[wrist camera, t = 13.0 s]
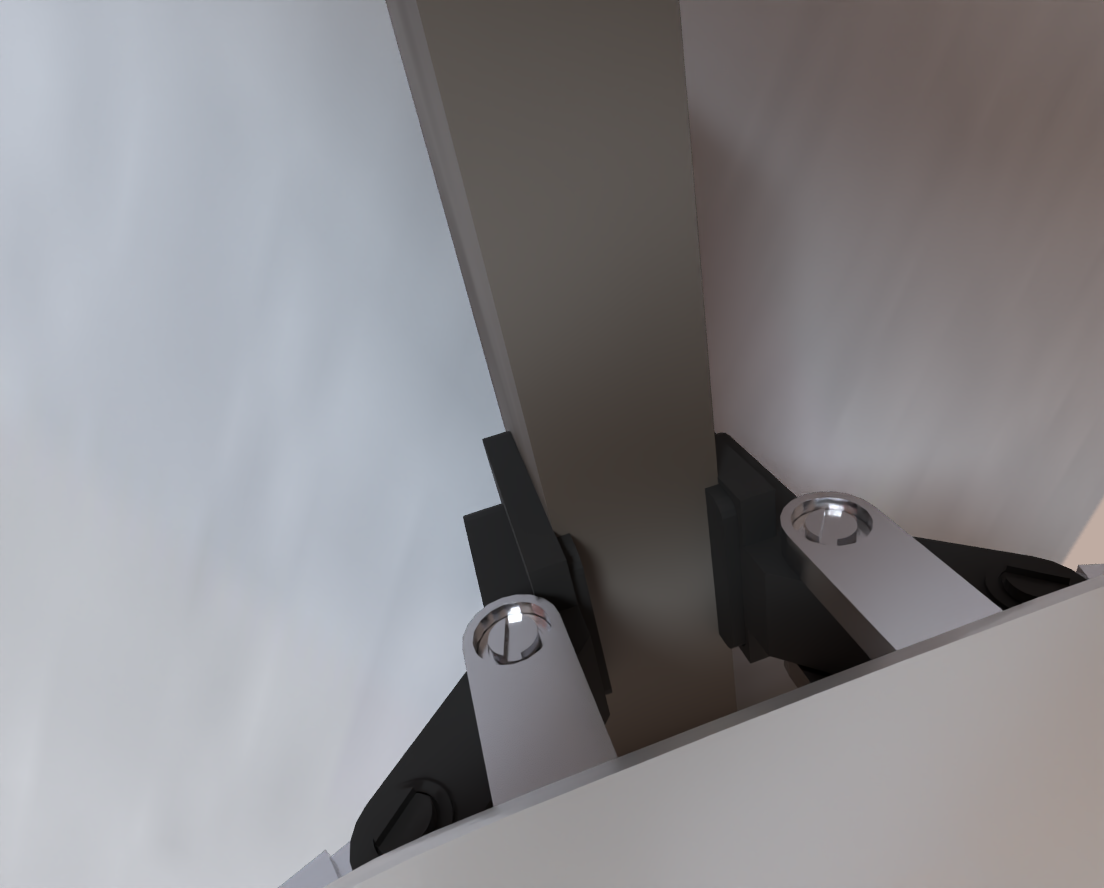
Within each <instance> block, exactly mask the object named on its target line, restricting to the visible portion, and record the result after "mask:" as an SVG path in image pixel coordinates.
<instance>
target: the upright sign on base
mask: <svg viewBox="0 0 1104 888" xmlns="http://www.w3.org/2000/svg"><path fill="white" fill-rule="evenodd" d="M385 1H386V4H387V8H388V11H389V15H390V19H391V22H392V26H393V29H394V33H395V36H396V40H397V44H398V47H399V51H400V54H401V58H402V61H403V65H404V69H405V72H406V76H407V79H408V83H409V87H410V90H411V94H412V97H413V101H414V104H415V108H416V112H417V115H418V119H419V122H420V126H421V130H422V133H423V137H424V140H425V144H426V147H427V151H428V155H429V158H430V162H431V165H432V169H433V172H434V176H435V180H436V183H437V187H438V190H439V194H440V198H441V201H442V205H443V208H444V212H445V215H446V219H447V223H448V226H449V230H450V233H451V237H452V240H453V244H454V248H455V251H456V255H457V258H458V262H459V266H460V269H461V273H462V276H463V280H464V283H465V287H466V291H467V294H468V298H469V301H470V305H471V308H472V312H473V316H474V319H475V323H476V326H477V330H478V334H479V337H480V341H481V344H482V348H483V351H484V355H485V359H486V362H487V366H488V369H489V373H490V376H491V380H492V384H493V387H494V391H495V394H496V398H497V402H498V405H499V409H500V412H501V416H502V419H503V423H504V427H505V430H506V432H507V431H510V433H511V435H512V437H513V439H514V442H515V444H516V446H517V448H518V451H519V453H520V455H521V458H522V460H523V462H524V464H525V467H526V469H527V471H528V474H529V476H530V478H531V480H532V483H533V485H534V487H535V490H536V492H537V494H538V496H539V499H540V501H541V503H542V506H543V508H544V510H545V513H546V515H547V517H548V520H549V522H550V524H551V527H552V529H553V531H554V533H555V535H556V537H559V536H562V535H565V534H568V533H570V535H571V538H572V540H573V542H574V544H575V546H576V549H577V551H578V554H579V557H580V560H581V563H582V566H583V570H584V574H585V578H586V582H587V586H588V591H589V595H590V599H591V603H592V607H593V612H594V616H595V620H596V624H597V628H598V632H599V637H600V641H601V645H602V649H603V653H604V658H605V662H606V666H607V670H608V674H609V679H610V683H611V687H612V693H611V694H608V695H606V699H607V704H608V708H609V712H610V716H609V718H608V720H607V722H606V724H605V727H606V730H607V732H608V735H609V737H610V740H611V742H612V745H613V747H614V749H615V752H616V754H617V757H621V756H623V755H626V754H628V753H631V752H634V751H636V750H639V749H641V748H644V747H647V746H649V745H652V744H654V743H657V742H659V741H662V740H665V739H667V738H670V737H672V736H675V735H677V734H680V733H683V732H685V731H688V730H690V729H693V728H695V727H698V726H701V725H703V724H706V723H708V722H711V721H714V720H716V719H719V718H721V717H724V716H727V715H729V714H732V713H734V712H737V711H740V710H742V709H745V708H747V707H750V706H753V705H755V704H758V703H761V702H763V701H766V700H768V699H771V698H774V697H776V696H779V695H781V694H784V693H787V692H789V691H792V690H794V689H797V686H796V685H795V684H794V682H793V681H792V679H791V678H790V677H789V675H788V673H787V671H786V669H785V667H784V660H781V659H778V658H774V657H767V658H765V659H762V660H759V661H757V662H754V663H751V664H750V663H749V661H748V660H747V658H746V657H745V655H744V654H743V652H742V651H741V650H740V648H739V647H735V648H733V649H730V648H729V647H728V646H727V645H726V644H725V642H724V641H723V639H722V638H721V636H720V635H719V629H718V619H717V609H716V598H715V588H714V578H713V568H712V557H711V547H710V537H709V526H708V516H707V506H706V496H705V488H708V487H711V486H714V485H717V484H718V478H717V477H718V472H717V459H716V447H715V435H714V422H713V410H712V398H711V386H710V373H709V361H708V349H707V336H706V324H705V312H704V300H703V287H702V275H701V263H700V250H699V238H698V226H697V213H696V201H695V189H694V177H693V164H692V152H691V140H690V127H689V115H688V103H687V91H686V78H685V66H684V54H683V41H682V29H681V17H680V5H679V0H385Z"/></svg>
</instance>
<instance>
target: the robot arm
mask: <svg viewBox="0 0 1104 888" xmlns="http://www.w3.org/2000/svg"><path fill="white" fill-rule="evenodd" d="M714 435H715V447H716V459H717V472H718V477H717V478H718V484H717V485H714V486H711V487H708V488H705V496H706V506H707V516H708V526H709V537H710V547H711V557H712V568H713V578H714V588H715V598H716V609H717V619H718V629H719V635H720V636H721V638H722V639H723V641H724V642H725V644H726V645H727V646H728V647H729V648H730V649H733V648H735V647H739V648H740V650H741V651H742V652H743V654H744V655H745V657H746V658H747V660H748V661H749V663H750V664H751V663H754V662H757V661H759V660H762V659H765V658H767V657H774V658H778V659H781V660H784V667H785V669H786V671H787V673H788V675H789V677H790V678H791V679H792V681H793V682H794V684H795V685H796V686H797V689H794V690H792V691H789V692H787V693H784V694H781V695H779V696H776V697H774V698H771V699H768V700H766V701H763V702H761V703H758V704H755V705H753V706H750V707H747V708H745V709H742V710H740V711H737V712H734V713H732V714H729V715H727V716H724V717H721V718H719V719H716V720H714V721H711V722H708V723H706V724H703V725H701V726H698V727H695V728H693V729H690V730H688V731H685V732H683V733H680V734H677V735H675V736H672V737H670V738H667V739H665V740H662V741H659V742H657V743H654V744H652V745H649V746H647V747H644V748H641V749H639V750H636V751H634V752H631V753H628V754H626V755H623V756H621V757H617V754H616V752H615V749H614V747H613V745H612V742H611V740H610V737H609V735H608V732H607V730H606V727H605V724H606V722H607V720H608V718H609V716H610V712H609V708H608V704H607V699H606V695H608V694H611V693H612V687H611V683H610V679H609V674H608V670H607V666H606V662H605V658H604V653H603V649H602V645H601V641H600V637H599V632H598V628H597V624H596V620H595V616H594V612H593V607H592V603H591V599H590V595H589V591H588V586H587V582H586V578H585V574H584V570H583V566H582V563H581V560H580V557H579V554H578V551H577V549H576V546H575V544H574V542H573V540H572V538H571V535H570V533H568V534H565V535H562V536H559V537H556V535H555V533H554V531H553V529H552V527H551V524H550V522H549V520H548V517H547V515H546V513H545V510H544V508H543V506H542V503H541V501H540V499H539V496H538V494H537V492H536V490H535V487H534V485H533V483H532V480H531V478H530V476H529V474H528V471H527V469H526V467H525V464H524V462H523V460H522V458H521V455H520V453H519V451H518V448H517V446H516V444H515V442H514V439H513V437H512V435H511V433H510V431H507V432H503V433H500V434H497V435H494V436H491V437H487V438H484V439H482V440H483V444H484V447H485V450H486V454H487V457H488V460H489V463H490V467H491V470H492V473H493V477H494V480H495V483H496V486H497V490H498V493H499V496H500V499H501V503H502V504H499V505H496V506H493V507H490V508H486V509H483V510H480V511H477V512H474V513H471V514H468V515H465V516H463V518H464V523H465V528H466V532H467V536H468V541H469V545H470V549H471V554H472V558H473V562H474V566H475V571H476V575H477V579H478V584H479V588H480V592H481V597H482V601H483V605H484V608H483V609H482V610H480V611H479V612H478V613H477V614H476V615H475V616H474V617H473V619H472V620H471V621H470V622H469V624H468V625H467V628H466V630H465V633H464V635H463V654H464V660H465V665H466V670H467V671H466V673H465V674H464V675H463V677H462V678H461V679H460V681H459V682H458V683H457V685H456V686H455V687H454V689H453V690H452V691H451V693H450V694H449V695H448V697H447V698H446V699H445V701H444V702H443V703H442V705H441V706H440V707H439V709H438V710H437V711H436V713H435V714H434V715H433V717H432V718H431V719H430V721H429V722H428V723H427V725H426V726H425V727H424V729H423V730H422V731H421V733H420V734H419V735H418V737H417V738H416V739H415V741H414V742H413V743H412V745H411V746H410V747H409V749H408V750H407V751H406V753H405V754H404V755H403V757H402V758H401V759H400V761H399V762H398V763H397V765H396V766H395V767H394V769H393V770H392V771H391V773H390V774H389V775H388V777H387V778H386V780H385V781H384V782H383V784H382V785H381V786H380V788H379V789H378V790H377V792H376V793H375V794H374V796H373V797H372V798H371V800H370V801H369V802H368V804H367V805H366V807H365V808H364V810H363V812H362V813H361V815H360V817H359V819H358V820H357V822H356V825H355V828H354V831H353V834H352V838H351V841H350V842H348V843H347V844H346V845H345V846H343V847H342V848H341V849H340V850H338V851H337V852H336V853H335V854H333V855H332V856H330V855H329V853H328V852H327V851H326V850H325V851H323V852H322V853H321V854H320V855H318V856H317V857H316V858H315V859H313V860H312V861H311V862H310V863H308V864H307V865H306V866H305V867H303V868H302V869H301V870H300V871H298V872H297V873H296V874H295V875H293V876H292V877H291V878H290V879H288V880H287V881H286V882H285V883H283V884H282V885H281V886H280V887H278V888H1104V564H1090V565H1078V568H1077V571H1076V572H1074V571H1073V570H1071V569H1069V568H1067V567H1064V566H1062V565H1060V564H1057V563H1055V562H1053V561H1049V560H1045V559H1041V558H1037V557H1033V556H1027V555H1021V554H1015V553H1009V552H1003V551H997V550H991V549H985V548H979V547H973V546H967V545H961V544H954V543H948V542H942V541H936V540H930V539H924V538H918V537H912V536H911V535H909V534H908V533H907V532H906V531H904V530H903V529H902V528H901V527H899V526H898V525H897V524H896V523H895V522H893V521H892V520H891V519H890V518H888V517H887V516H886V515H885V514H883V513H882V512H881V511H880V510H879V509H877V508H876V507H875V506H873V505H872V504H870V503H869V502H867V501H865V500H864V499H862V498H859V497H856V496H853V495H850V494H846V493H840V492H833V491H830V492H814V493H809V494H805V495H802V496H800V497H798V498H797V497H796V496H795V495H794V494H793V493H792V492H791V491H790V490H789V489H788V488H786V487H785V486H784V485H783V484H782V483H781V482H780V481H779V480H778V479H777V478H775V477H774V476H773V475H772V474H771V473H770V472H769V471H768V470H767V469H766V468H764V467H763V466H762V465H761V464H760V463H759V462H758V461H757V460H756V459H755V458H753V457H752V456H751V455H750V454H749V453H748V452H747V451H746V450H745V449H744V448H742V447H741V446H740V445H739V444H738V443H737V442H736V441H735V440H734V439H732V438H731V437H730V436H729V435H727V434H726V433H718V434H716V433H715V432H714Z"/></svg>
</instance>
